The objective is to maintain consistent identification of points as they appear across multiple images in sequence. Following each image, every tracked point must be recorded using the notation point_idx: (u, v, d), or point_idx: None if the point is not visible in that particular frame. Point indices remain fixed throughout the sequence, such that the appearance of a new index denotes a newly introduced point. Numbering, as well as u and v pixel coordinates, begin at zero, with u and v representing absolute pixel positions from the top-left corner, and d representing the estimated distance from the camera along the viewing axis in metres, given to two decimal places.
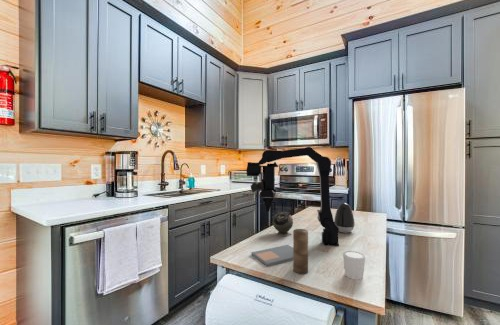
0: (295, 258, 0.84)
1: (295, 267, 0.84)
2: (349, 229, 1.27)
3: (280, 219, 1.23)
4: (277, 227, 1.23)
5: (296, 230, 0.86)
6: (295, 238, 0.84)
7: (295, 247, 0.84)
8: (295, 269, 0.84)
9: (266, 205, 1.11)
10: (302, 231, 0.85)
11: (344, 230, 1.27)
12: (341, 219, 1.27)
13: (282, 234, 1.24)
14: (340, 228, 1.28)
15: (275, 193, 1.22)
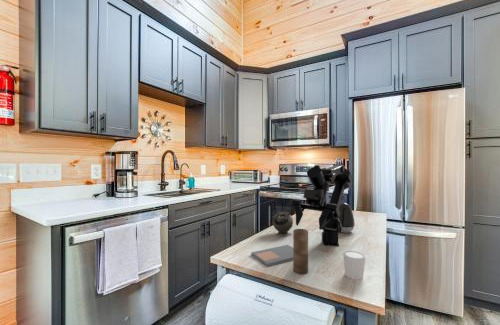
0: (295, 258, 0.84)
1: (295, 267, 0.84)
2: (349, 229, 1.27)
3: (280, 219, 1.23)
4: (277, 227, 1.23)
5: (296, 230, 0.86)
6: (295, 238, 0.84)
7: (295, 247, 0.84)
8: (295, 269, 0.84)
9: (324, 221, 0.90)
10: (302, 231, 0.85)
11: (344, 230, 1.27)
12: (341, 219, 1.27)
13: (282, 234, 1.24)
14: None
15: None
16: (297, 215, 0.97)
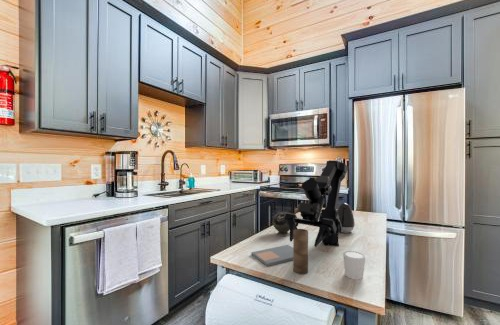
0: (295, 258, 0.84)
1: (295, 267, 0.84)
2: (349, 229, 1.27)
3: (280, 219, 1.23)
4: (277, 227, 1.23)
5: (296, 230, 0.86)
6: (295, 238, 0.84)
7: (295, 247, 0.84)
8: (295, 269, 0.84)
9: (320, 238, 0.85)
10: (302, 231, 0.85)
11: (344, 230, 1.27)
12: (341, 219, 1.27)
13: (282, 234, 1.24)
14: None
15: None
16: (291, 230, 0.91)
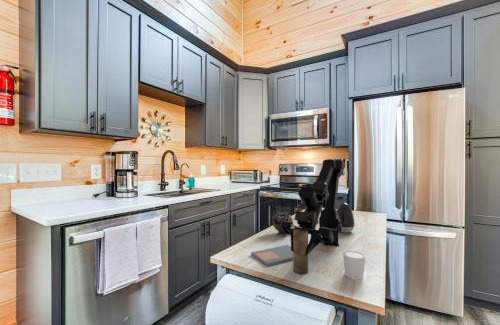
0: (295, 258, 0.84)
1: (295, 267, 0.84)
2: (349, 229, 1.27)
3: (280, 219, 1.23)
4: (277, 227, 1.23)
5: (296, 230, 0.86)
6: (295, 238, 0.84)
7: (295, 247, 0.84)
8: (295, 269, 0.84)
9: (311, 246, 0.84)
10: (302, 231, 0.85)
11: (344, 230, 1.27)
12: (341, 219, 1.27)
13: (282, 234, 1.24)
14: None
15: None
16: (292, 240, 0.88)
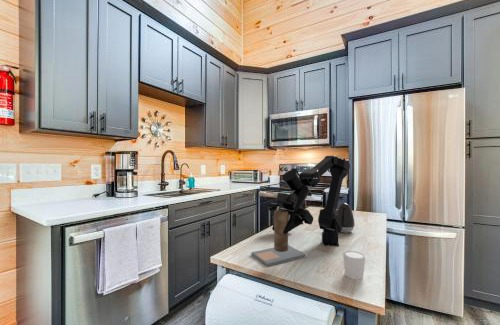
0: (275, 236, 0.90)
1: (275, 245, 0.90)
2: (349, 229, 1.27)
3: None
4: None
5: (277, 210, 0.91)
6: (274, 217, 0.90)
7: (274, 226, 0.90)
8: (275, 247, 0.90)
9: (289, 226, 0.88)
10: (281, 212, 0.90)
11: (344, 230, 1.27)
12: (341, 219, 1.27)
13: None
14: None
15: None
16: None
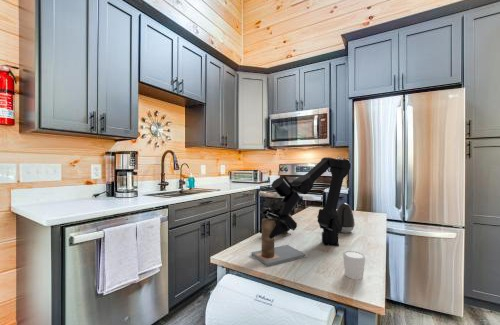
0: None
1: None
2: (349, 229, 1.27)
3: None
4: None
5: (265, 219, 0.97)
6: None
7: None
8: None
9: (275, 231, 0.92)
10: (268, 220, 0.95)
11: (344, 230, 1.27)
12: (341, 219, 1.27)
13: (282, 234, 1.24)
14: None
15: None
16: None
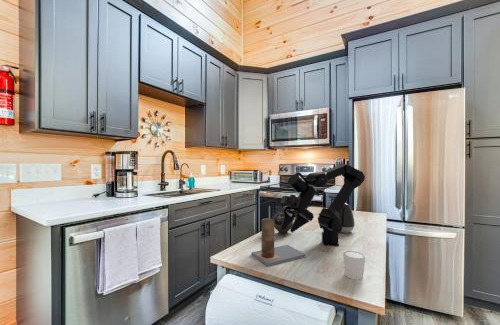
0: None
1: None
2: (349, 229, 1.27)
3: (280, 219, 1.23)
4: (277, 227, 1.23)
5: (265, 219, 0.97)
6: None
7: None
8: None
9: (295, 224, 0.96)
10: (268, 220, 0.95)
11: (344, 230, 1.27)
12: (341, 219, 1.27)
13: (282, 234, 1.24)
14: None
15: None
16: (283, 220, 1.06)
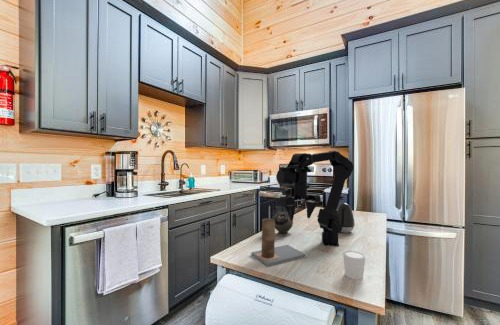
0: None
1: None
2: (349, 229, 1.27)
3: (280, 219, 1.23)
4: (277, 227, 1.23)
5: (265, 219, 0.97)
6: (262, 225, 0.96)
7: (262, 233, 0.96)
8: None
9: (288, 213, 1.02)
10: (268, 220, 0.95)
11: (344, 230, 1.27)
12: (341, 219, 1.27)
13: (282, 234, 1.24)
14: None
15: (314, 203, 1.05)
16: None
